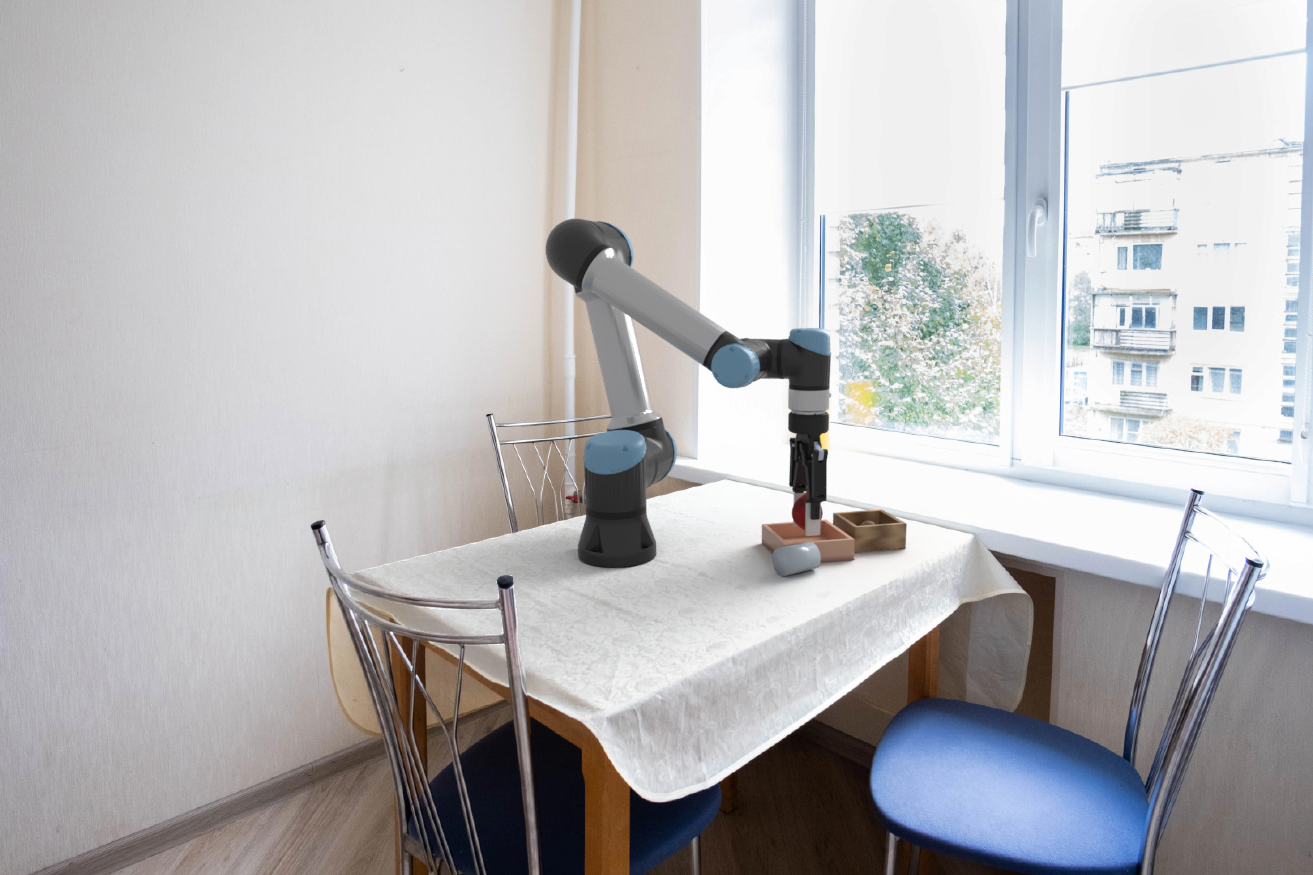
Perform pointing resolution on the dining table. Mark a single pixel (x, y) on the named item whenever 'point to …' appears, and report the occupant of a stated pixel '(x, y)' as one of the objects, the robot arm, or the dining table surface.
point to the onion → (801, 511)
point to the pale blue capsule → (796, 558)
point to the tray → (828, 542)
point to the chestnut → (867, 523)
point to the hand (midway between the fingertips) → (806, 529)
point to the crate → (872, 530)
